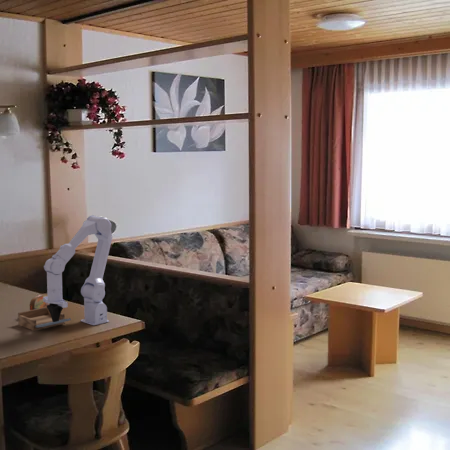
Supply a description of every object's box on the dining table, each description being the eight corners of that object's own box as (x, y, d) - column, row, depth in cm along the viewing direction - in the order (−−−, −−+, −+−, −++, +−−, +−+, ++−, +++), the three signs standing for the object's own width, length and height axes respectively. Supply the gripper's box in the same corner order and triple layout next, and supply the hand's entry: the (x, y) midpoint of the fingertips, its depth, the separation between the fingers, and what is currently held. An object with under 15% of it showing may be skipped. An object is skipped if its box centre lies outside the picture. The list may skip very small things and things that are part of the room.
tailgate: (64, 321, 256) (71, 320, 252) (35, 327, 247) (42, 326, 243) (63, 319, 256) (70, 318, 253) (35, 325, 247) (42, 324, 243)
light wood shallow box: (64, 323, 257) (64, 311, 256) (34, 330, 247) (33, 318, 246) (48, 318, 265) (48, 306, 264) (18, 324, 255) (18, 312, 254)
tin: (35, 319, 263) (34, 299, 262) (28, 318, 264) (27, 299, 263) (52, 310, 278) (51, 291, 277) (45, 309, 279) (45, 291, 277)
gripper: (35, 287, 249) (36, 320, 250) (56, 293, 239) (57, 327, 240) (51, 284, 254) (52, 317, 255) (71, 290, 244) (72, 324, 246)
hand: (55, 322), depth 248 cm, fingers closed, pressing on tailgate
